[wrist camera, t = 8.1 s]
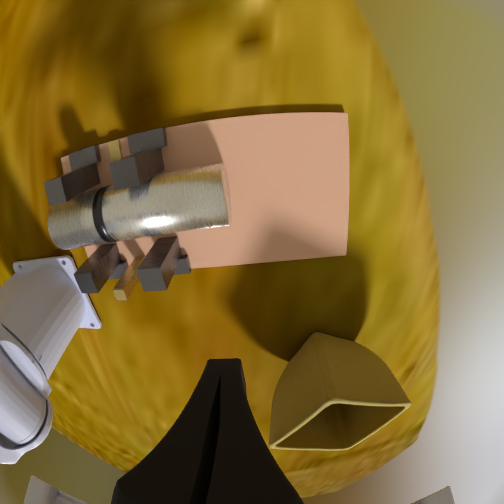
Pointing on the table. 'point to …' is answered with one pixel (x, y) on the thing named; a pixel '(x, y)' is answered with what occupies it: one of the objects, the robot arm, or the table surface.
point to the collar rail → (123, 176)
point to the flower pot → (333, 396)
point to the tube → (144, 209)
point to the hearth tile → (259, 187)
